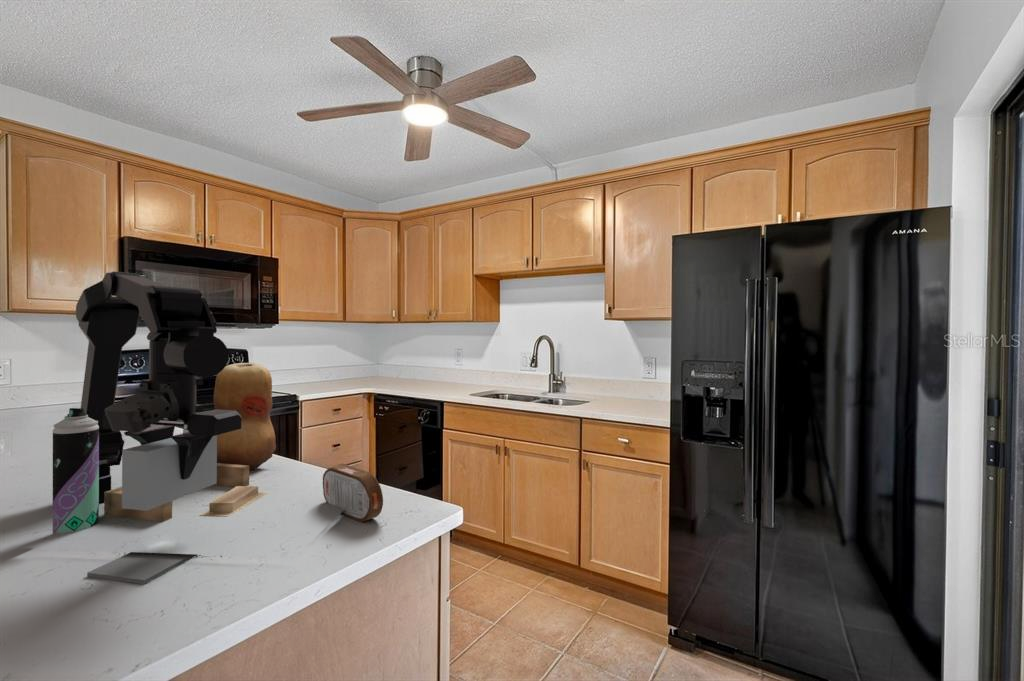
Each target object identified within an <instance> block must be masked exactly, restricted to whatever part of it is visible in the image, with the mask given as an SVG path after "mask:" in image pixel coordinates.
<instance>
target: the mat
mask: <svg viewBox="0 0 1024 681" xmlns="http://www.w3.org/2000/svg"><path fill="white" fill-rule="evenodd" d="M196 556H198V554H194V553H193V554H192V553H189V554H187V553H167V552H166V553H165V552H162V553H161V552H143V551H140V552H137V551H131V552H128V553H126V554H124V555H122V556H120V557H118V558H115V559H114V560H111V561H109V562H107V563H105V564H103V565H100V566H98V567H97V568H94V569H92V570H90V571H87V573H86V575H87V577H90V578H97V579H105V580H113V581H120V582H126V583H133V584H140V583H141V585H146V584H147V583H149V582H151V581H153V580H155V579H157V578H159V577H160V576H162V575H164V574H166V573H167V572H170V571H171V570H173V569H175V568H176V567H178V566H180V565H182V564H184V563H185V562H187V561H190V560H191V559H192V558H193V559H194V558H195V557H196Z"/></svg>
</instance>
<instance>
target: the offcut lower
mask: <svg viewBox="0 0 1024 681" xmlns="http://www.w3.org/2000/svg"><path fill="white" fill-rule="evenodd" d="M268 494H269V492H260V491H258V495H257V496H255V497H254V498H253V499H251V500H250V501H248V502H247V503H245V504H244V505H243V506H241V507H240V508H238V509H237V510H235V511H234V512H209V509H208V510H206V511H204V512H202V513H200V514H199V516H203V517H229V516H231V515H233V514H235V513H236V512H238V511H240V510H241V509H243V508H245V507H247V506H249V505H250V504H252V503H253V502H256V501H257V500H259V499H261V498H262V497H263V496H265V495H268Z"/></svg>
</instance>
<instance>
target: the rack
mask: <svg viewBox="0 0 1024 681" xmlns="http://www.w3.org/2000/svg"><path fill="white" fill-rule="evenodd" d="M213 486H224V487H226V486H227V487H233V488H235V487H236V486H250V470H249V466H247V465H235V464H222V463H217V483H216V484H214V485H213ZM103 502H104V505H103V506H104V508H103V512H104V514H103V515H104V516H106V517H108V516H109V517H116V518H117V517H118V518H127V519H137V520H143V521H144V520H145V521H156V522H163V523H164V522H166V521H169V520H171V519H173V501H171V502H168V503H165V504H163V505H160V506H158V507H155V508H153V509H150V510H148V511H143V510H134V509H125V508H122V486H120V487H115V488H113V489H111V490H109V491H106V492H104V501H103Z"/></svg>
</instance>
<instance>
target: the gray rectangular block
mask: <svg viewBox="0 0 1024 681" xmlns="http://www.w3.org/2000/svg"><path fill="white" fill-rule="evenodd" d="M216 483H217V435H216V436H213V437H212V438H211V440H210V441H209V443H208V445H207V446H206V448H205V449H204V451H203V453H202V454H201V456H200V458H199V460H198V462H197V464H196V466H195V468H194V470H193V472H192V473H191V475H190V477H189V478H188V479H185V480H182V479H181V475H180V463H179V445H178V444H177V443H176V442H175V441H174V440H173V439H172V438H168V439H164V440H160V441H156V442H152V443H148V444H144V445H141V444H140V445H136V446H133V447H127V448H125V449H124V448H123V450H122V459H121V487H122V508H125V509H134V510H143V511H148V510H150V509H153V508H155V507H158V506H160V505H163V504H165V503H168V502H171V501H172V502H173V501H176V500H178V499H180V498H183V497H186V496H188V495H190V494H191V495H192V494H193V493H195V492H199V491H200V490H203V489H206V488H208V487H211V486H215V485H214V484H216Z"/></svg>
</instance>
